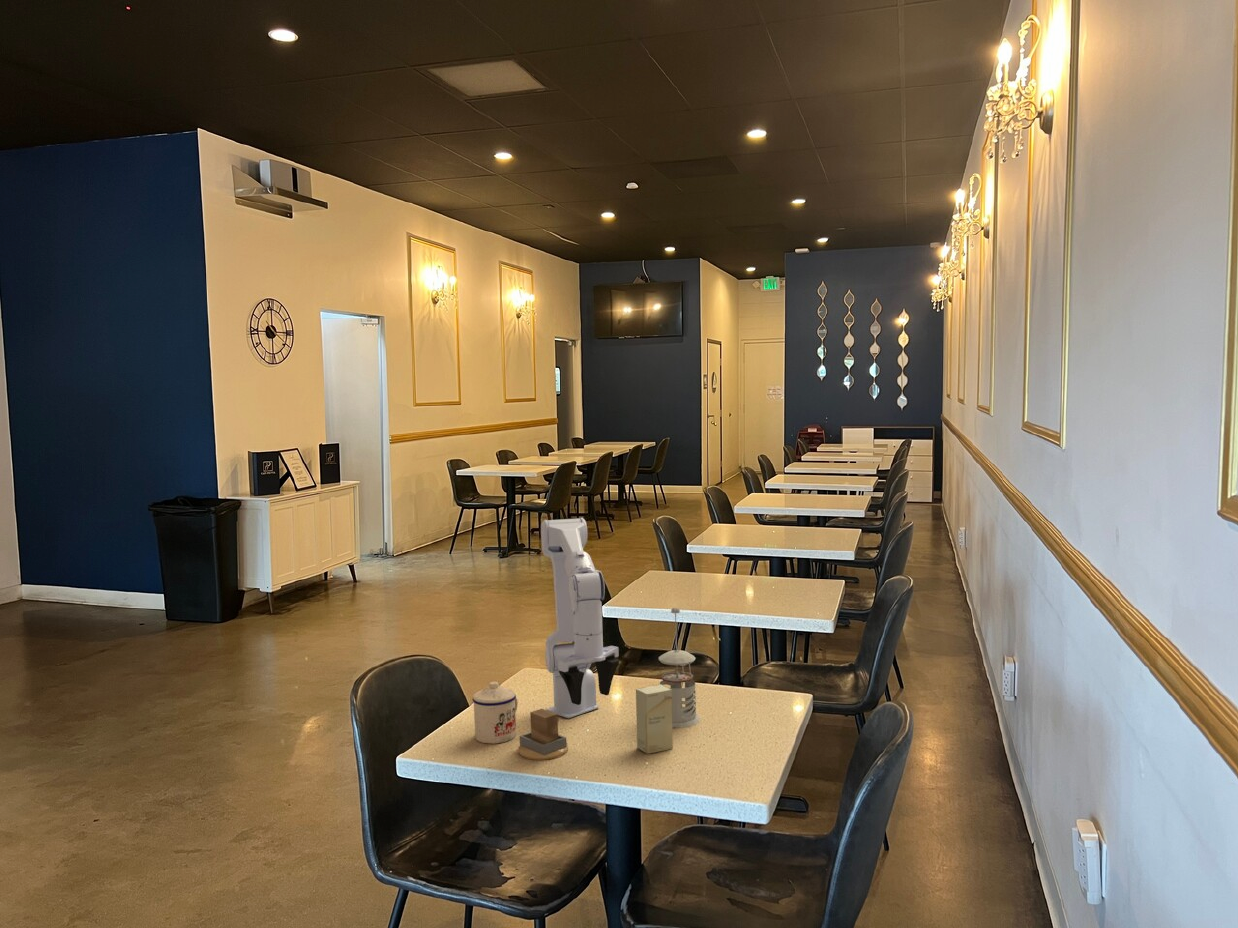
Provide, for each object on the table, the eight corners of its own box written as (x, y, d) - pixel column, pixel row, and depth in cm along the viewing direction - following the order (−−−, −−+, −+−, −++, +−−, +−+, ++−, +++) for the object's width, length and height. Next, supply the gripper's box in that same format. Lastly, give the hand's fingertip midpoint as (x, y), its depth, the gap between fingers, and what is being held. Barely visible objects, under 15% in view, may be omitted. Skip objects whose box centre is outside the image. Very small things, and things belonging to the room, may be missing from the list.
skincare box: (647, 754, 178) (645, 694, 177) (636, 747, 182) (634, 688, 181) (674, 748, 181) (672, 689, 180) (663, 741, 184) (661, 683, 184)
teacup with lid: (499, 747, 184) (497, 691, 183) (465, 740, 189) (462, 685, 188) (533, 728, 194) (531, 675, 194) (500, 722, 199) (498, 670, 198)
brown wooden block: (543, 741, 184) (541, 708, 184) (558, 748, 180) (557, 713, 180) (531, 746, 182) (530, 712, 182) (547, 752, 178) (545, 717, 178)
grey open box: (547, 737, 189) (546, 724, 189) (578, 749, 181) (577, 735, 181) (508, 750, 182) (508, 737, 182) (539, 764, 175) (538, 749, 174)
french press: (649, 724, 194) (646, 610, 193) (667, 707, 205) (664, 599, 203) (693, 729, 191) (690, 613, 189) (708, 711, 201) (705, 601, 200)
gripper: (573, 642, 172) (576, 712, 173) (628, 628, 182) (630, 694, 183) (550, 636, 177) (552, 704, 178) (604, 623, 187) (606, 686, 188)
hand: (590, 698), depth 181 cm, fingers open, 7 cm apart
